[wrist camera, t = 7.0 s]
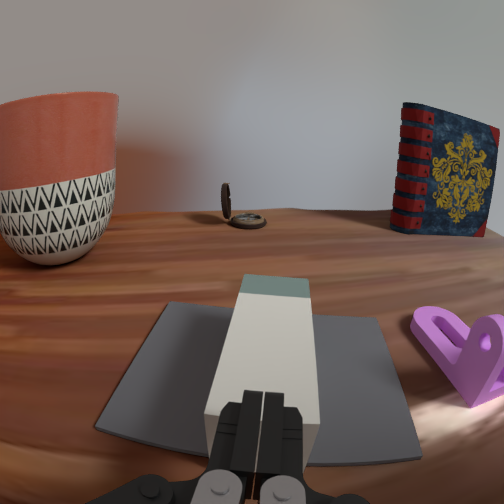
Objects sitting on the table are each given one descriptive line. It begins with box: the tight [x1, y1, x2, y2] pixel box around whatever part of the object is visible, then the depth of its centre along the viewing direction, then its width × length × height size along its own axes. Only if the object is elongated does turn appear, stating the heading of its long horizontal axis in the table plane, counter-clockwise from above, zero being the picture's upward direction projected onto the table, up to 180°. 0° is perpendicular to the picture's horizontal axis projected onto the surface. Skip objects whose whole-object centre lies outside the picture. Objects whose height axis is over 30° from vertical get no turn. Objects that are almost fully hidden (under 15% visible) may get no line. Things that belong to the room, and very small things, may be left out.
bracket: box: [410, 306, 504, 408], centre depth 22 cm, size 13×6×7 cm, turn 6°
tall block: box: [204, 274, 320, 472], centre depth 20 cm, size 5×5×14 cm
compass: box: [221, 183, 267, 229], centre depth 56 cm, size 8×8×7 cm
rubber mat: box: [95, 301, 423, 466], centre depth 22 cm, size 20×16×1 cm
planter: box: [0, 92, 119, 265], centre depth 36 cm, size 20×20×21 cm
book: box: [390, 102, 500, 237], centre depth 55 cm, size 25×7×25 cm, turn 95°
